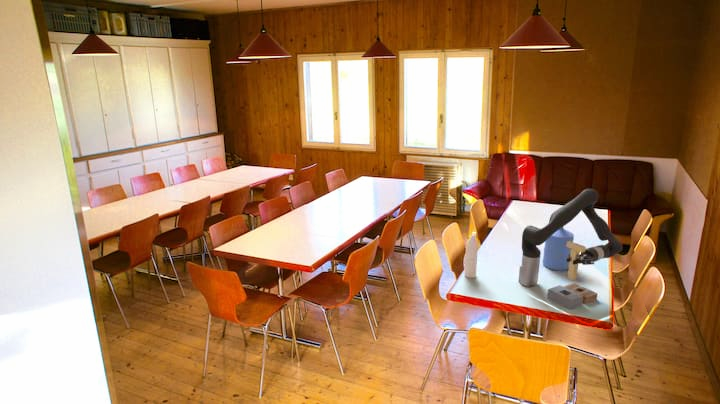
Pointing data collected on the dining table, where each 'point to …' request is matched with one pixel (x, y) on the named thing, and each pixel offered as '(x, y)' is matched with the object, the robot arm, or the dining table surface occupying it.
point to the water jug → (557, 250)
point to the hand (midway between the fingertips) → (570, 261)
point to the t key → (574, 258)
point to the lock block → (583, 292)
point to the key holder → (565, 297)
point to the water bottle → (471, 256)
